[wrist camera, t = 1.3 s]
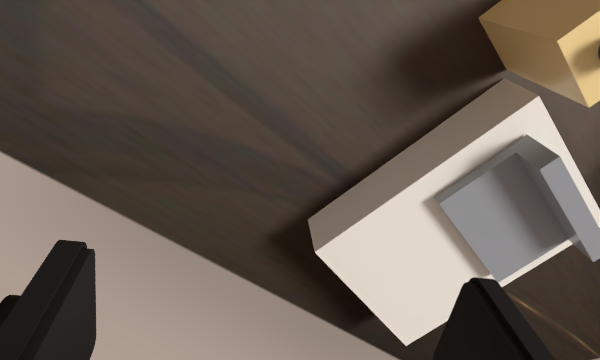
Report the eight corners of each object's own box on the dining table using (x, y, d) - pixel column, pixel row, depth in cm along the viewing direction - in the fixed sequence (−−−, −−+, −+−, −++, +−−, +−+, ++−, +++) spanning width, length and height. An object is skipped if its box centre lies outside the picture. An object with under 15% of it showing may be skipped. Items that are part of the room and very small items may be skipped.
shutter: (526, 134, 33) (560, 156, 30) (577, 222, 37) (611, 251, 34) (434, 197, 35) (455, 225, 31) (492, 275, 39) (516, 307, 36)
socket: (504, 78, 37) (539, 95, 32) (569, 194, 42) (606, 223, 38) (307, 219, 41) (314, 252, 36) (391, 308, 47) (405, 345, 42)
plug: (537, -28, 33) (671, -17, 23) (563, 28, 36) (698, 61, 25) (478, 17, 35) (579, 47, 24) (506, 69, 37) (612, 118, 26)
